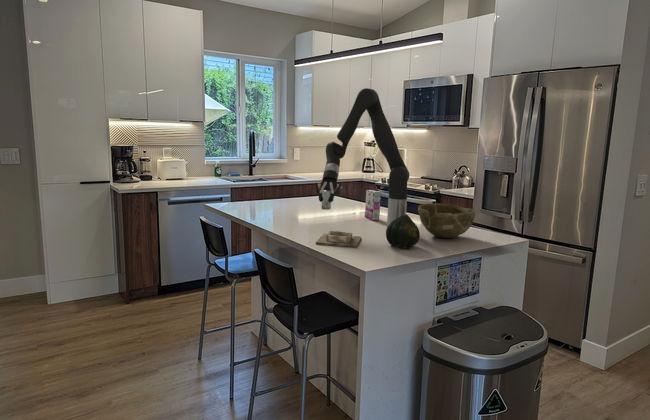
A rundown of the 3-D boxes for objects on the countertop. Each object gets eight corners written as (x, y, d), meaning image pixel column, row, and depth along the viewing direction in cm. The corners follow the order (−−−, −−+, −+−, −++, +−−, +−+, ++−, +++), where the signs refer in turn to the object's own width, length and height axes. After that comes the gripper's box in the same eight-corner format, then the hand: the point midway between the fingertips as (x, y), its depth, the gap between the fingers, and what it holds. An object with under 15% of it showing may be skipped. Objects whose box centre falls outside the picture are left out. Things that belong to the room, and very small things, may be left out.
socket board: (361, 238, 211) (361, 231, 210) (356, 248, 193) (356, 240, 193) (323, 235, 214) (324, 228, 214) (315, 244, 197) (315, 236, 196)
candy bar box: (379, 220, 257) (381, 192, 254) (371, 220, 255) (373, 192, 252) (372, 216, 267) (373, 189, 264) (364, 217, 266) (365, 189, 263)
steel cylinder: (331, 208, 221) (331, 190, 219) (329, 209, 217) (330, 191, 215) (322, 207, 222) (323, 189, 220) (320, 209, 218) (321, 190, 216)
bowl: (460, 247, 202) (463, 214, 199) (406, 237, 218) (408, 206, 215) (480, 237, 224) (483, 208, 221) (430, 228, 240) (432, 201, 237)
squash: (388, 239, 189) (411, 212, 190) (375, 232, 203) (396, 207, 204) (410, 259, 193) (432, 233, 194) (395, 252, 207) (416, 227, 209)
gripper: (316, 168, 225) (310, 195, 215) (344, 169, 222) (339, 197, 212) (318, 178, 231) (312, 204, 221) (345, 179, 228) (340, 206, 218)
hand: (325, 201), depth 217 cm, fingers closed on steel cylinder, 4 cm apart
